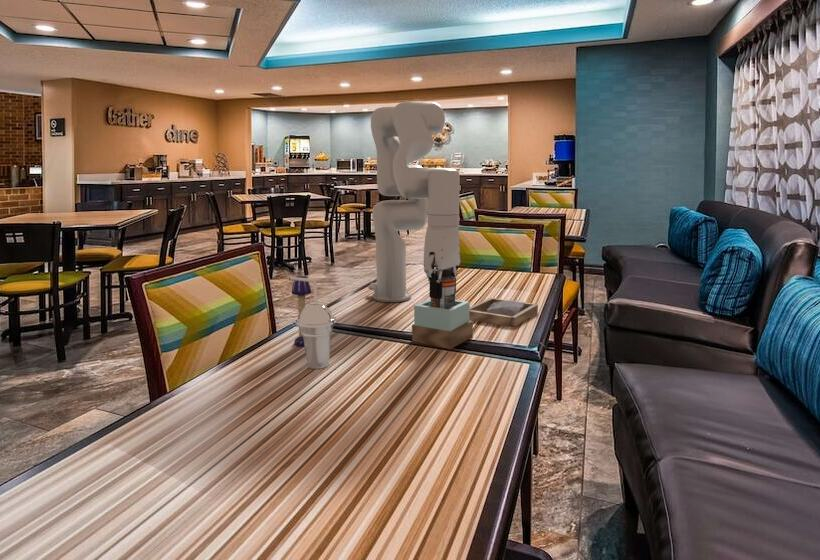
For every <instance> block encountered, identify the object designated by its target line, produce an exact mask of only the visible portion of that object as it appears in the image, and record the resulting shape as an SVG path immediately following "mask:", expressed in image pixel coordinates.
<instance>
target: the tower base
mask: <svg viewBox="0 0 820 560" xmlns="http://www.w3.org/2000/svg"><path fill="white" fill-rule="evenodd" d="M473 335H474V320H469V322H467V323H465V324H463V325H461V326H459V327H458V328H456V329H454V330H452V331H445V330H439V329H433V328H428V327H422V326H416V325H414V323H413V324H412V325H411V340H412V342H416V343H419V344H425V345H430V346H435V347H440V348H445V349H448V350H449V349H450V350H451V349H454V348H455V347H457V346H459V345H460V344H463V343H464V342H466V341H468V340H470V339H472V338H473V337H474V336H473Z"/></svg>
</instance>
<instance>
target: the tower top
mask: <svg viewBox="0 0 820 560" xmlns="http://www.w3.org/2000/svg"><path fill="white" fill-rule="evenodd" d="M470 307H471V306H470V301H466V300H458V299H455V306H454V307H452V308H450V309H444V308H437V307H431V298H429V299H427V300H424V301H421V302H419V303H417V304H415V305H414V306H413V313H414V314H413V315H414V317H413V318H414V319H413V320H414V321H413V322H414V323H413V324H414V325H416V326H422V327H428V328H433V329H439V330H445V331H452V330H454V329H456V328H458V327H459V326H461V325H463V324H465V323H467V322H469V321H470V320H469V310H470Z"/></svg>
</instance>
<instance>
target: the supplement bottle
mask: <svg viewBox="0 0 820 560" xmlns="http://www.w3.org/2000/svg"><path fill="white" fill-rule="evenodd" d="M437 268H438V267H435V268H434V269H437ZM434 273H435V274H436V276H437V273H438V272H434ZM451 273H452V268H449V269H446V270H443V271H442V276H441V281H440V282H442V298H441V299H436V298H430V299H431V307H437V308H444V309H450V308H452V307H454V306H455V300H456V293H455V278H454V277H453V276H452V275H451Z"/></svg>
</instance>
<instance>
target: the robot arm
mask: <svg viewBox="0 0 820 560" xmlns="http://www.w3.org/2000/svg"><path fill="white" fill-rule="evenodd" d="M445 123H446V115H445V112H444V110H443V108H442V106H441V105H440V104H439V103H437V102H434V101H417V100H415V101H413V100H411V101H410V100H409V101H403V102H402V101H401V102H399V103H397V104H396V105H395V106H382V107H378V108H375V109H374V110H373V111H372V113H371V116H370V130H371V134H372V138H373V141H374V142H373V143H374V145H375V150H376V186H377V187H376V188H377V191H378V193H379V194H380V195H382V196H386V197H403V198H405V200H403V199H402V200H401V199H396V200H395V199H392V200H389V199H388V200H381V201H379V202H377V203H376V204H375V205H373V208H372V212H371V215H372V221H373V228H374V234H375V256H376V258H375V259H376V260H375V263H376V282H371V283H370V284H369V285H368V287H367V288H368V290H369V291H370V290H372V291H374V293H373V294H372V295H371V297H372V300H374V301H376V302H380V303H381V302H382V303H400V302H405V301H408V300H411V298H412V294H411V292H409V291H407V264H406V263H407V259H406V257H407V256H406V253H407V250H406V246H407V245H406V243H405V241H404V239H403V237H402V236H401V235H400V234H399V232H401V231H413V230H415V231H416V230H421V229H423V228H425V226H426V224H427V228H426V231H425V236H424V247H423V272H424V273H425V274H426V277H427V280H428V282H429V299H431V298H436V299H441V298H442V282H440V281H441V276H442V271H443V270H446V269H449V268H452V273H451V275H452V276H453V277H454V278H455V294H456V293H457V277H458V270H459V266H460V264H461V261H462V260H461V255H460V254H461V245H460V244H461V243H460V232H459V229H460V184H461V183H460V181H461V179H460V178H461V177H460V172H459V171H458V170H457V169H455V168H446V167H422V166H421V165H418V164H412V165H411V163H414V162H416V161H418V160H420V159H422V158H424V157H426V156H427V155H428V154H429V153H430V152H431V151H432V149H433V147H434V139H433V136H435V135H438V134H441V132H442V131H443V129H444V127H445ZM406 199H407V200H406ZM436 267H438V268H437V269H435V268H436ZM435 272H438V273H437V276H436V274H435Z"/></svg>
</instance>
